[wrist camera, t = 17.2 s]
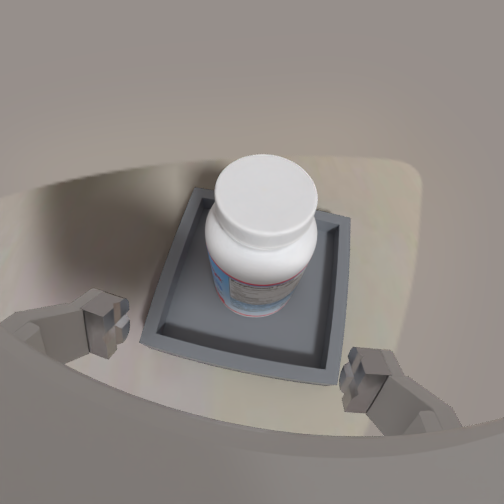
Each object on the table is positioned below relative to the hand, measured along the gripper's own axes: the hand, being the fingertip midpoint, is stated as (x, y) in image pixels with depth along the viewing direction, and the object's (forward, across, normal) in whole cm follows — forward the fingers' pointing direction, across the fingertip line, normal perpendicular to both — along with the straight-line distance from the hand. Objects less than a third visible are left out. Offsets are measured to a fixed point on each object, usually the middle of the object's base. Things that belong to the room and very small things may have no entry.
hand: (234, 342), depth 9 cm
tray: (+13, 0, +4) cm, 14 cm away
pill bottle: (+12, 0, +3) cm, 13 cm away
